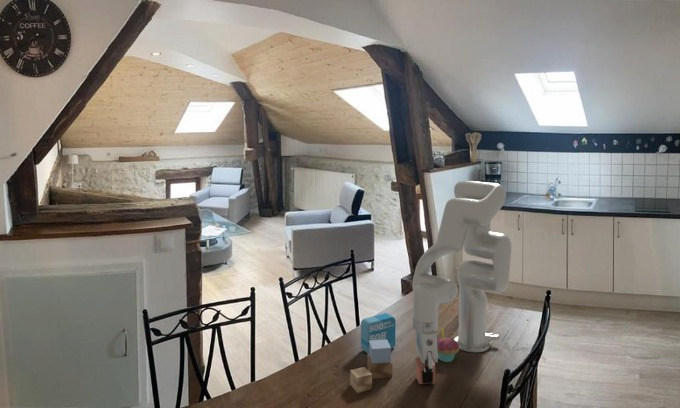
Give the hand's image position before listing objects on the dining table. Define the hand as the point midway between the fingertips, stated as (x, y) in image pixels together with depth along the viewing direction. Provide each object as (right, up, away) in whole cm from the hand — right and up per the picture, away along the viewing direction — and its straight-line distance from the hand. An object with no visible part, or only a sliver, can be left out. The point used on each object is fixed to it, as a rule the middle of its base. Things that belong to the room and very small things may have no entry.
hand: (425, 377), depth 156 cm
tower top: (-14, +4, +5) cm, 15 cm away
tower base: (-14, -1, +6) cm, 15 cm away
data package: (-13, +2, +22) cm, 25 cm away
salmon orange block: (0, -1, 0) cm, 1 cm away
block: (-20, -2, -3) cm, 20 cm away
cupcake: (+10, +1, +14) cm, 17 cm away
